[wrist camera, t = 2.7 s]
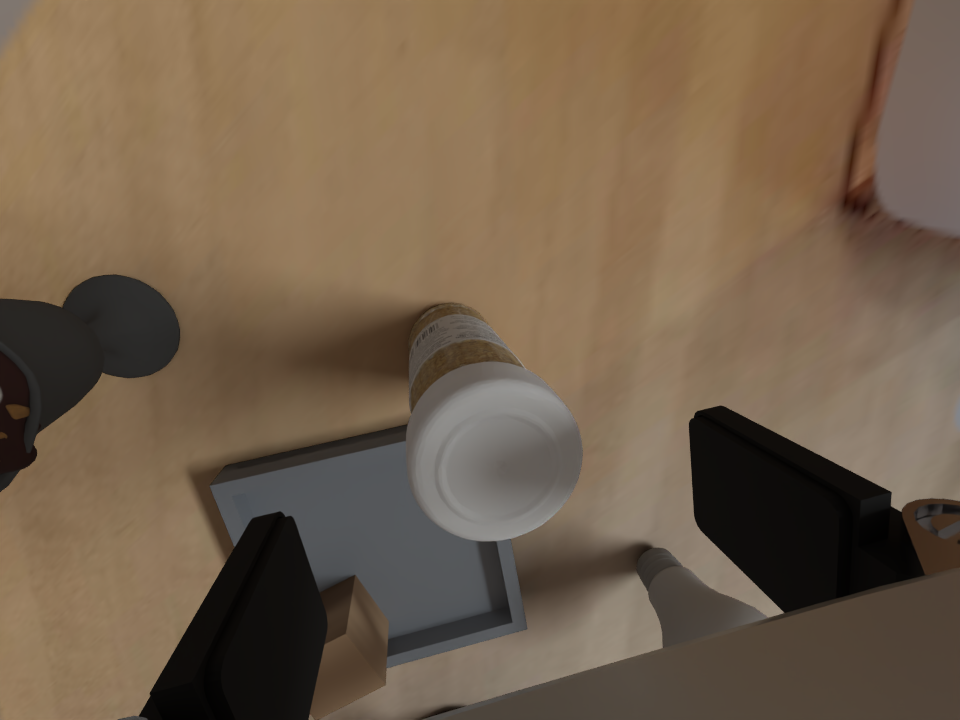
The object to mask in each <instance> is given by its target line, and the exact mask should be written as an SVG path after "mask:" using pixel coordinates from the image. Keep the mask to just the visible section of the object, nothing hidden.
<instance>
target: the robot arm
mask: <svg viewBox="0 0 960 720" xmlns="http://www.w3.org/2000/svg"><path fill="white" fill-rule="evenodd" d="M689 436H690V453H691V470H692V487H693V504H694V517H695V520H696V523H697V525H698V527H699V529H700V530H701V531H702V532H703V533H704V534H705V535H706V536H707V537H708V538H709V539H710V540H711V541H712V542H713V543H714V544H715V545H716V546H717V547H718V548H719V549H720V550H721V551H722V552H723V553H724V554H725V555H726V556H727V557H728V558H729V559H730V560H731V561H732V562H733V563H734V564H735V565H736V566H737V567H738V568H739V569H740V570H741V571H743V572H744V573H745V574H746V575H747V576H748V577H749V578H750V579H751V580H752V581H753V582H754V583H755V584H756V585H757V586H758V587H759V588H760V589H761V590H762V591H763V592H764V593H765V594H766V595H767V596H768V597H769V598H770V599H771V600H772V601H773V602H774V603H775V604H776V605H777V606H778V607H779V608H780V609H781V610H782V611H783V612H784V613H783V614H780V615H776V616H773V617H769V618H766V619H762V620H759V621H755V622H752V623H748V624H745V625H742V626H738V627H735V628H731V629H728V630H724V631H721V632H717V633H714V634H710V635H707V636H703V637H700V638H696V639H693V640H689V641H686V642H682V643H679V644H675V645H672V646H668V647H665V648H662V649H658V650H655V651H651V652H648V653H644V654H641V655H638V656H634V657H631V658H627V659H624V660H620V661H617V662H614V663H610V664H607V665H603V666H600V667H597V668H593V669H590V670H586V671H583V672H580V673H576V674H573V675H569V676H566V677H563V678H559V679H556V680H552V681H549V682H546V683H542V684H539V685H535V686H532V687H529V688H525V689H522V690H518V691H515V692H512V693H508V694H505V695H502V696H498V697H495V698H492V699H488V700H485V701H482V702H478V703H475V704H472V705H468V706H465V707H462V708H458V709H455V710H452V711H448V712H445V713H442V714H438V715H435V716H432V717H428V718H425V719H422V720H960V501H955V500H949V499H934V498H930V499H920V500H915V501H913V502H910V503H907V504H906V505H905V506H904V507H903V509H902V512H900V511H898V510H897V509H895V508H893V507H891V493H892V492H890V491H888V490H886V489H884V488H882V487H880V486H878V485H877V484H875V483H873V482H871V481H869V480H867V479H865V478H863V477H861V476H859V475H857V474H855V473H853V472H851V471H849V470H847V469H845V468H843V467H841V466H839V465H837V464H835V463H834V462H832V461H830V460H828V459H826V458H824V457H822V456H820V455H818V454H816V453H814V452H812V451H810V450H808V449H806V448H804V447H802V446H800V445H798V444H796V443H794V442H793V441H791V440H789V439H787V438H785V437H783V436H781V435H779V434H777V433H775V432H773V431H771V430H769V429H767V428H765V427H763V426H761V425H759V424H757V423H755V422H753V421H751V420H750V419H748V418H746V417H744V416H742V415H740V414H738V413H736V412H734V411H732V410H730V409H728V408H726V407H724V406H717V407H713V408H708V409H704V410H700V411H697V412H696V413H695V415H694V418H693V419H691V420H690V422H689ZM327 629H328V621H327V614H326V611H325V608H324V605H323V602H322V599H321V596H320V593H319V590H318V587H317V584H316V581H315V578H314V575H313V572H312V569H311V567H310V564H309V561H308V558H307V555H306V552H305V549H304V546H303V543H302V540H301V537H300V534H299V531H298V528H297V525H296V522H295V520H294V518H293V517H292V516H287V517H285V515H284V514H283V512H281V511H279V512H275V513H271V514H266V515H262V516H258V517H254V518H252V519H251V520H250V522H249V524H248V525H247V527H246V529H245V531H244V532H243V534H242V536H241V537H240V539H239V541H238V543H237V544H236V546H235V548H234V549H233V551H232V553H231V555H230V556H229V558H228V560H227V561H226V563H225V565H224V567H223V568H222V570H221V572H220V573H219V575H218V577H217V579H216V580H215V582H214V584H213V585H212V587H211V589H210V591H209V592H208V594H207V596H206V597H205V599H204V601H203V603H202V604H201V606H200V608H199V609H198V611H197V613H196V615H195V616H194V618H193V620H192V622H191V623H190V625H189V627H188V628H187V630H186V632H185V634H184V635H183V637H182V639H181V640H180V642H179V644H178V646H177V647H176V649H175V651H174V652H173V654H172V656H171V658H170V659H169V661H168V663H167V664H166V666H165V668H164V670H163V671H162V673H161V675H160V676H159V678H158V680H157V682H156V683H155V685H154V687H153V688H152V690H151V692H150V695H151V696H150V698H149V699H148V701H147V703H146V705H145V706H144V708H143V710H142V711H141V713H140V715H139V717H138V716H132V717H127V718H122V719H118V720H308V718H309V714H310V709H311V705H312V700H313V695H314V691H315V686H316V681H317V677H318V672H319V667H320V663H321V658H322V654H323V649H324V644H325V640H326V635H327Z"/></svg>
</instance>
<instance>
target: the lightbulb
mask: <svg viewBox="0 0 960 720" xmlns="http://www.w3.org/2000/svg"><path fill="white" fill-rule="evenodd" d="M637 573H638V575H639V577H640V579H641V581H642V582H643V584H644V586H645V587H646V589H647V591H648V595H649V600H650V602H651V604H652V606H653V607H654V609H655V611H656V613H657V616H658V618H659V621H660V624H661V628H662V642H663V648H665V647H668V646H672V645H675V644H679V643H682V642H686V641H689V640H693V639H696V638H700V637H703V636H707V635H710V634H714V633H717V632H721V631H724V630H728V629H731V628H735V627H738V626H742V625H745V624H748V623H752V622H755V621H759V620H762V619H766V618H768V617H767V616H766V615H764V614H763V613H761V612H760V611H759V610H757V609H756V608H755V607H752V606H750V605H748V604H746V603H743V602H741V601H739V600H737V599H734V598H732V597H729V596H727V595H724V594H721V593H718V592H717V591H715V590H713V589H711V588H710V587H708V586H707V585H706V584H704V583H703V582H702V581H701V580H700V579H699V578H698V577H697V576H696V575H695V574H694V573H693V572H692V571H691V570H689V569H687V568H685V567H683V566H682V565H681V563H680V562H679V561H678V560H677V559H676V558H675V557H674V556H673V555H672V554H671V553H670V552H669V551H668V550H666V549H663V548H652V549H649V550H647V551H646V552H644V553H643V554H642V555H641V556H640V558H639V560H638V563H637Z"/></svg>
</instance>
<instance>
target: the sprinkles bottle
mask: <svg viewBox="0 0 960 720" xmlns="http://www.w3.org/2000/svg"><path fill="white" fill-rule="evenodd" d="M408 345H409V406H410V411H411V416H410V419H409V422H408V426H407V432H406V464H407V474H408V481H409V485H410V488H411V491H412V494H413V496H414V498H415V500H416V502H417V504H418V505H419V507H420V508H421V510H422V511H423V512H424V513H425V515H426V516H427V517H428V518H429V519H430V520H431V521H432V522H434V523H435V524H436V525H438V526H439V527H440V528H442V529H444V530H445V531H447V532H449V533H451V534H453V535H456V536H459V537H461V538H465V539H469V540H475V541H501V540H506V539H511V538H514V537H518V536H521V535H523V534H525V533H528V532H530V531H532V530H534V529H536V528H538V527H539V526H541V525H543V524H544V523H545V522H546V521H548V520H549V519H550V518H551V517H553V516H554V515H555V514H556V513H557V512H558V511H559V510H560V509H561V507H562V506H563V505H564V504H565V502H566V501H567V500H568V498H569V497H570V495H571V493H572V492H573V490H574V488H575V485H576V483H577V481H578V478H579V474H580V470H581V465H582V457H583V450H582V441H581V436H580V432H579V429H578V426H577V423H576V421H575V419H574V417H573V415H572V414H571V412H570V410H569V409H568V408H567V406H566V405H565V404H564V403H563V401H562V400H561V399H560V398H559V397H558V395H557V394H556V393H555V392H554V391H553V390H552V389H551V388H550V387H549V386H548V384H547V383H546V382H545V381H543V380H542V379H541V378H540V377H539V376H537V375H536V374H534V373H533V372H531V371H529V370H527V369H525V367H524V366H523V364H522V363H521V361H520V360H519V359H518V358H517V357H516V355H515V354H514V353H513V352H512V351H511V350H510V349H509V348H508V347H507V345H506V344H505V343H504V342H503V341H502V340H501V338H500V337H499V336H498V335H497V334H496V333H495V331H494V330H493V329H492V328H491V327H490V326H489V325H488V323H487V321H486V320H485V319H484V318H483V317H482V316H481V315H480V313H478V312H477V311H476V310H474V309H472V308H471V307H468V306H465V305H463V304H454V303H448V304H441V305H438V306H436V307H433V308H431V309H429V310H427V311H426V312H425V313H424V314H423V315H422V316H421V317H420V318H419V319H418V321H417V322H416V323H415V324H414V326H413V328H412V330H411V334H410V337H409V341H408Z"/></svg>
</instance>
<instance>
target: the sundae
mask: <svg viewBox="0 0 960 720" xmlns="http://www.w3.org/2000/svg"><path fill="white" fill-rule="evenodd" d="M179 339H180V329H179V324H178V320H177V318H176V315H175V313H174V310H173V309H172V308H171V306H170V305H169V303H168V302H167V301H166V300H165V299H164V297H163V296H162V295H161V294H160V293H159V292H157V291H156V290H154V289H153V288H152V287H150V286H148V285H147V284H145V283H143V282H141V281H139V280H136V279H133V278H130V277H126V276H120V275H103V276H98V277H92V278H90V279H88V280H86V281H84V282H82V283H81V284H80V285H78V286H77V287H75V288H74V289H73V290H72V292H71V293H70V294H69V296H68V297H67V299H66V301H65V303H64V305H63V308H61V307H59V306H55V305H52V304H49V303H45V302H41V301H28V300H15V299H0V492H1V491H2V490H4V489H5V488H6V487H7V486H9V484H10V483H11V482H12V480H13V479H14V477H15V476H16V475H17V473H18V472H19V471H20V470H21V469H24V468H26V467H28V466H29V465H30V464H31V463H33V462H34V461H35V459H36V457H37V450H36V448H35V446H34V445H33V444H34V441H35V437H36V435H37V434H38V433H39V432H40V431H42V430H43V429H44V428H46V427H47V426H48V425H50V424H51V423H52V422H54V421H55V420H56V419H58V418H59V417H60V416H62V415H63V414H64V413H66V412H67V411H68V410H70V409H71V408H72V407H74V406H75V405H76V404H77V403H78V402H79V401H80V400H81V399H82V398H83V397H84V396H85V395H86V394H87V393H88V392H89V391H90V390H91V389H92V388H93V387H94V385H95V384H96V383H97V382H98V380H99V378H100V376H101V374H102V372H103V373H105V374H109V375H113V376H117V377H124V378H136V377H143V376H148V375H151V374H153V373H155V372H157V371H159V370H160V369H162V368H163V367H165V366H166V365H167V364H168V363H169V362H170V361H171V359H172V358H173V357H174V355H175V353H176V351H177V350H178V345H179Z"/></svg>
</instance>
